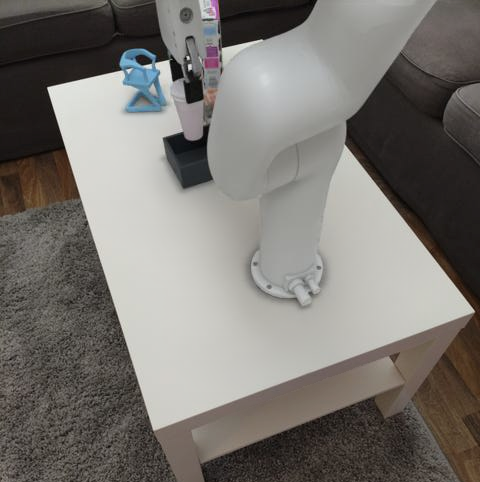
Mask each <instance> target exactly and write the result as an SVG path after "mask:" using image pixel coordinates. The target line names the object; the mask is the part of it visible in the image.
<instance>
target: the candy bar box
mask: <svg viewBox="0 0 480 482" xmlns="http://www.w3.org/2000/svg"><path fill="white" fill-rule="evenodd" d="M199 4H200V10H201V16H202V22H203V29H204V36H205V44H206V52H207V57H206V59H204V60H203V59H201V58H200V61H201V65H202V81H203V83H204V88H205V90H208V89H213V88H217V87H218V85H219V81H220V77H221V74H222V72H223V70H224V67H223V65H224V64H223V46H222V30H221V29H222V28H221V17H220V16H221V15H220V8H219V7H220V6H219V0H199Z"/></svg>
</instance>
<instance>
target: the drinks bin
mask: <svg viewBox="0 0 480 482" xmlns="http://www.w3.org/2000/svg"><path fill="white" fill-rule="evenodd" d="M209 129H210V124H208V123H206V124H203V136H202V137H201V138H200V139H198V140H194V141H191V140H188V139H186V138H185V136H184V133H183V131H180V132H176V133H173V134H170V135H167V136H163V137H162V138H161V139H162V143H163V148H164V153H165V158H166V160H167V162H168V164H169V165H170V167H171V169H172V170H173V172H174V174H175V177H176V178H177V180H178V182H179V183H180V185H181V187H182V189H183V190H184V189H187V188H192V187H195V186H198V185H200V184H204V183H206V182H211V181H212V180H213V177H212V175H211V172H210V168H209V164H208V156H207V142H208V134H209ZM213 181H214V180H213Z"/></svg>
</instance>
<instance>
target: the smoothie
mask: <svg viewBox="0 0 480 482" xmlns="http://www.w3.org/2000/svg"><path fill="white" fill-rule="evenodd" d="M184 61H185V60H184ZM184 80H185V78H181V79H178V80H176V81H174V82H173V81H172V83H171V84H170V85H169V96H170V98H171V99H172V100H173V103H174V107H175V110H176V113H177V116H178V119H179V123H180V127H181V130H182V132H183V133H184V136H185V138H186V139H188V140H191V141H194V140H198V139H200V138H201V137H202V136H203V125H204V116H203V100H202V101H198V102H195V103H192V104H187V102H186V98H185V92H184V85H183V81H184ZM202 85H203V94H205V88H204V81H202Z"/></svg>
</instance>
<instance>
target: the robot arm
mask: <svg viewBox="0 0 480 482" xmlns="http://www.w3.org/2000/svg"><path fill="white" fill-rule="evenodd" d="M437 1H438V0H317V1H316V2H315V4H314V7H313V9H312V11H311V13H310V14H309V16H308V17H307V19H306V20H305V21H304V22H303V23H301V24H300V25H297V26H296V27H294V28H292V29H290V30H288V31H286V32H284V33H281V34H278V35H275V36H272V37H270V38H267V39H264V40H260V41H258V42H256V43H253V44H250V45H248V46H246V47H244V48H243V49H241V50H240V51H238V52H236V54H234V56H232V57H231V59H229V60H228V62H227V63H226V65H225V66H224V67H223V72H222V74H221V77H220V81H219V85H218V89H217V94H216V99H215V104H214V109H213V114H212V119H211V124H210V129H209V134H208V142H207V156H208V164H209V168H210V172H211V175H212V177H213V181H214V184H215V186H216V187H217V188H218V189H219V190H220V192H221V193H222V194H224V195H225V196H227V198H229V199H232V200H234V201H239V202H244V201H251V200H253V199H256V198H258V197H259V248H258V249H257V250H256V251H255V253H254V254H253V256H252V259H251V263H250V274H251V277H252V279H253V282H254V283H255V284H256V286H257V287H258V288H259V289H260V290H261V291H263V292H264V293H266V294H267V295H270V296H272V297H274V298H280V299H296V298H297V299H296V300H298V302H299V304H300V305H301V306H302V307H307V306H308V305H311V303H312V302H313V298H312V297H311V294H309V293H311V292H312V294H313V295H317V294H319V293H320V292H321V288H320V286H319V284H320V282H321V281H322V277H323V274H324V273H323V272H324V263H323V261H322V257H321V256H320V254H319V252H318V250H319V243H320V240H321V239H320V238H321V233H322V228H323V227H322V226H323V222H324V216H325V209H326V206H327V205H326V204H327V199H328V194H329V190H330V186H331V182H332V179H333V176H334V173H335V171H336V169H337V167H338V165H339V162H340V159H341V157H342V154H343V151H344V148H345V143H346V139H347V121H348V120H349V119H351V118H352V117H353V116H354V115H356V114H357V113H358V111H359V110H360V109H361V108H362V107H363V105H364V104H365V103H366V101H367V100H368V98H369V97H370V96H371V94H372V93H373V92H374V90H375V88H376V87H377V85H378V84H379V83H380V81H381V80H382V79H383V78H384V76H385V74H386V73H387V71H388V70H389V69H390V67H391V66H392V65H393V63H394V62H395V60H396V59H397V58H398V56H399V55H400V53H401V52H402V50H403V49H404V48H405V46H406V45H407V42H409V40H410V38H411V36H412V35H413V34H414V32H415V30H416V29H417V28H418V27H419V25H420V24H421V22H422V21H423V20H424V18H425V17H426V16H427V14H428V13H429V11H430V10H431V9H432V8H433V6H434V5H435V3H436V2H437ZM155 7H156V14H157V19H158V25H159V30H160V35H161V38H162V41H163V43H164V45H165V47H166V49H167V56H168V59H169V60H168V64H169V69H170V75H171V81H172V83H173V82H174V81H176V80H178V79H181V78H185V80H184V81H183V85H184V92H185V98H186V102H187V104H192V103H195V102H198V101H202V100H203V99H204V94H203V85H202V82H203V70H202V61H201V59H203V60H204V59H206V57H207V52H206V44H205V36H204V29H203V22H202V16H201V10H200V4H199V0H155ZM188 58H189V59H188ZM184 60H185V61H184ZM189 65H190V66H191V69H190V68H189Z"/></svg>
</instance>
